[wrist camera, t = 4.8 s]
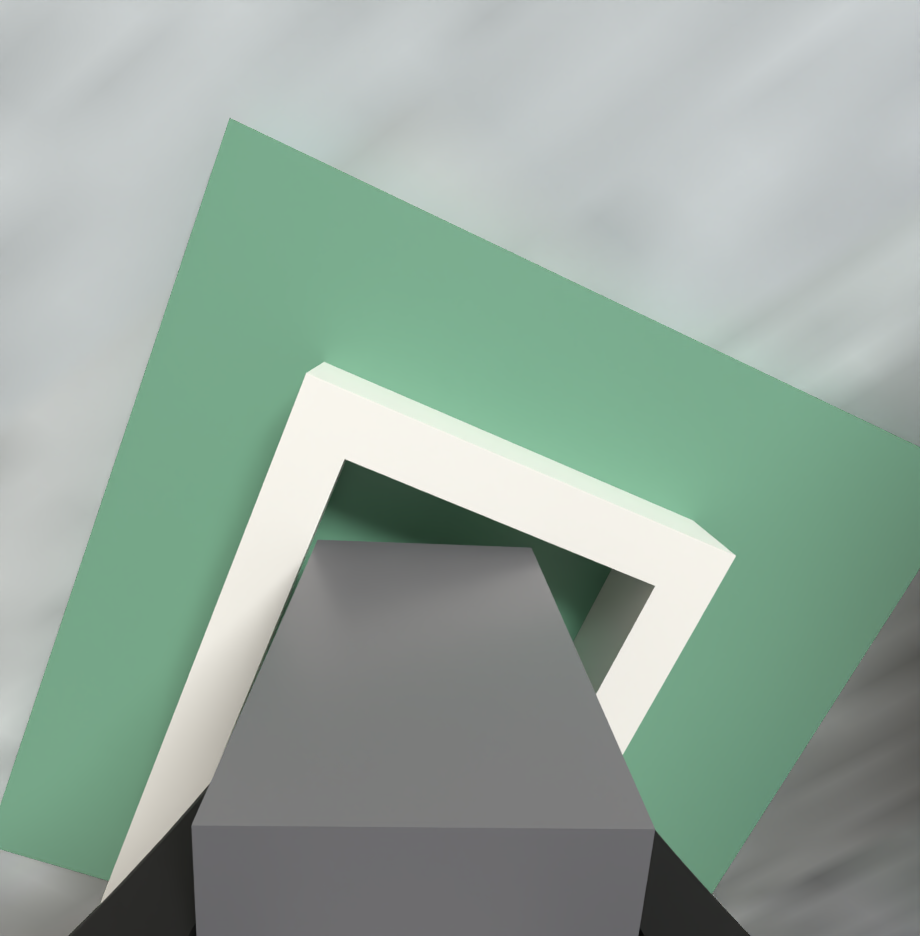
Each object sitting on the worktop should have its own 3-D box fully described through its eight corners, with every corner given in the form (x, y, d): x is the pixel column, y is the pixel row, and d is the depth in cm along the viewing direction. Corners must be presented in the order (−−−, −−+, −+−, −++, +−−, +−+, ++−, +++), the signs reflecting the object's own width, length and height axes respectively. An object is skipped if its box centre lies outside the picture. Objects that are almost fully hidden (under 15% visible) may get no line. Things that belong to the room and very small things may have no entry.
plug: (531, 547, 11) (655, 828, 5) (504, 838, 12) (577, 1320, 6) (317, 539, 11) (190, 825, 5) (314, 837, 12) (215, 1335, 6)
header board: (947, 465, 13) (1067, 503, 11) (614, 997, 17) (648, 1122, 14) (243, 130, 11) (191, 81, 9) (10, 816, 14) (-78, 925, 12)
